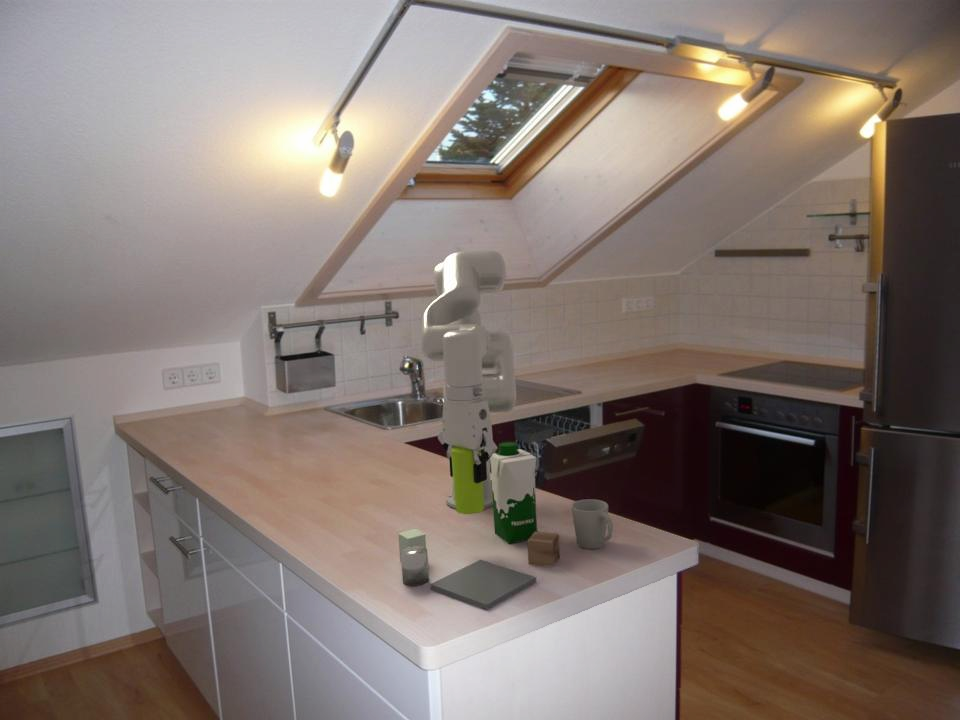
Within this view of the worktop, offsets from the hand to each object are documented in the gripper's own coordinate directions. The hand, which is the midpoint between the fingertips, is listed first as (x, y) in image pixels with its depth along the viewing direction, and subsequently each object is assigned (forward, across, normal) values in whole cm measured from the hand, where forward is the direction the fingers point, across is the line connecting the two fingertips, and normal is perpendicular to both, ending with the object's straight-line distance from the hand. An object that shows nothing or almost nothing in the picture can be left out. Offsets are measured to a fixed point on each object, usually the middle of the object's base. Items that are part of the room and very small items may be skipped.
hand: (468, 477), depth 163 cm
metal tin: (+16, -1, +17) cm, 23 cm away
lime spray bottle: (+7, 0, 0) cm, 7 cm away
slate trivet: (+15, -13, +11) cm, 23 cm away
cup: (+16, -19, -17) cm, 30 cm away
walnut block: (+16, -15, -5) cm, 22 cm away
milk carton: (+17, -2, -12) cm, 21 cm away
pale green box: (+16, +6, +11) cm, 20 cm away
